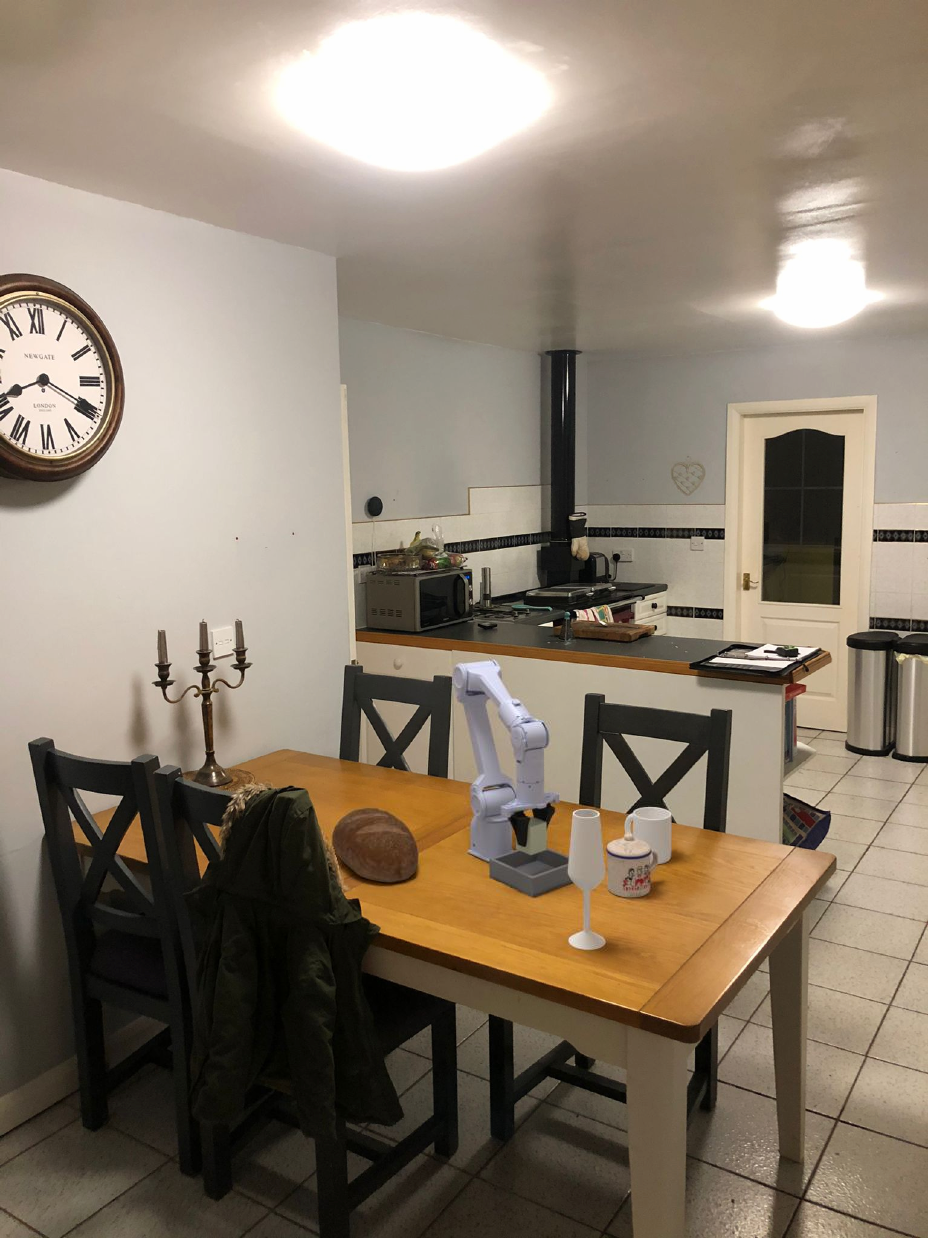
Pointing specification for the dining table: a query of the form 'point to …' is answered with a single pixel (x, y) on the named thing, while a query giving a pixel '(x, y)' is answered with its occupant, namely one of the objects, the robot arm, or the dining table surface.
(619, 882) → the teacup with lid
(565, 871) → the bin
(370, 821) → the bread
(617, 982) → the dining table surface
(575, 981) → the dining table surface
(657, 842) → the mug
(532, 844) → the block
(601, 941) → the champagne flute
